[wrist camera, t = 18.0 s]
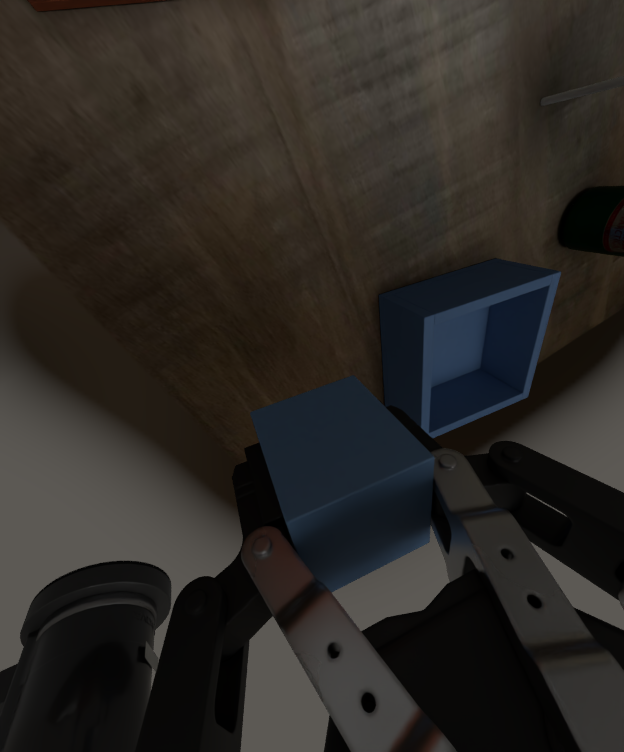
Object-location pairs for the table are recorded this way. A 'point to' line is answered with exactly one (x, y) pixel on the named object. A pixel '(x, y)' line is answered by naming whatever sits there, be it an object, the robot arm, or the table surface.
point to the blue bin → (464, 341)
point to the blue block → (346, 480)
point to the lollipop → (583, 91)
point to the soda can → (596, 222)
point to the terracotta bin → (78, 3)
